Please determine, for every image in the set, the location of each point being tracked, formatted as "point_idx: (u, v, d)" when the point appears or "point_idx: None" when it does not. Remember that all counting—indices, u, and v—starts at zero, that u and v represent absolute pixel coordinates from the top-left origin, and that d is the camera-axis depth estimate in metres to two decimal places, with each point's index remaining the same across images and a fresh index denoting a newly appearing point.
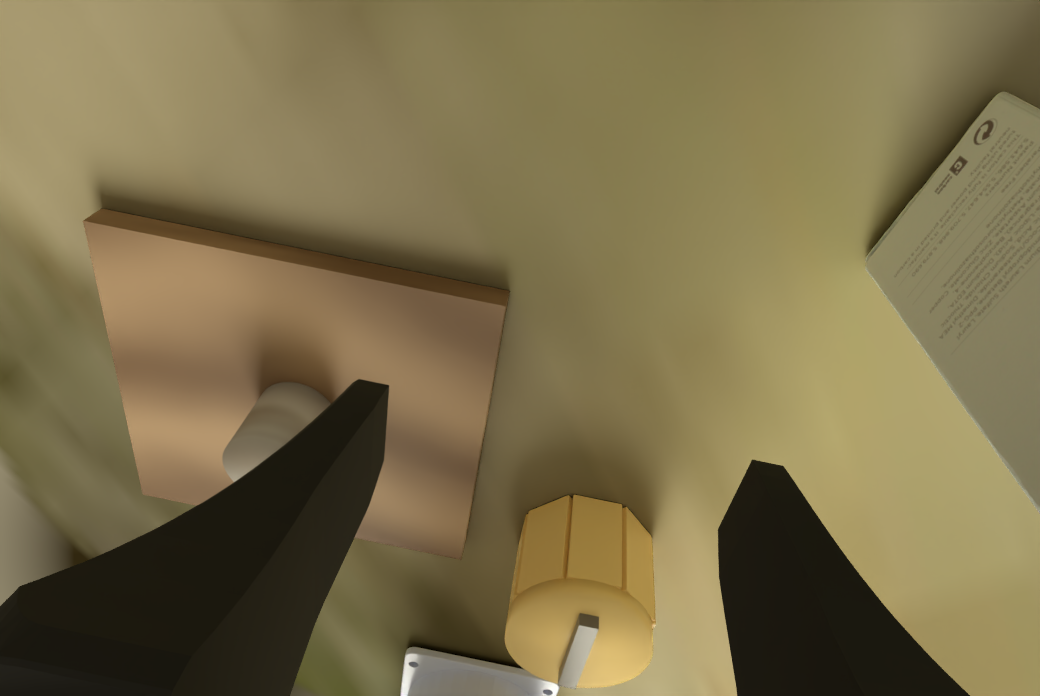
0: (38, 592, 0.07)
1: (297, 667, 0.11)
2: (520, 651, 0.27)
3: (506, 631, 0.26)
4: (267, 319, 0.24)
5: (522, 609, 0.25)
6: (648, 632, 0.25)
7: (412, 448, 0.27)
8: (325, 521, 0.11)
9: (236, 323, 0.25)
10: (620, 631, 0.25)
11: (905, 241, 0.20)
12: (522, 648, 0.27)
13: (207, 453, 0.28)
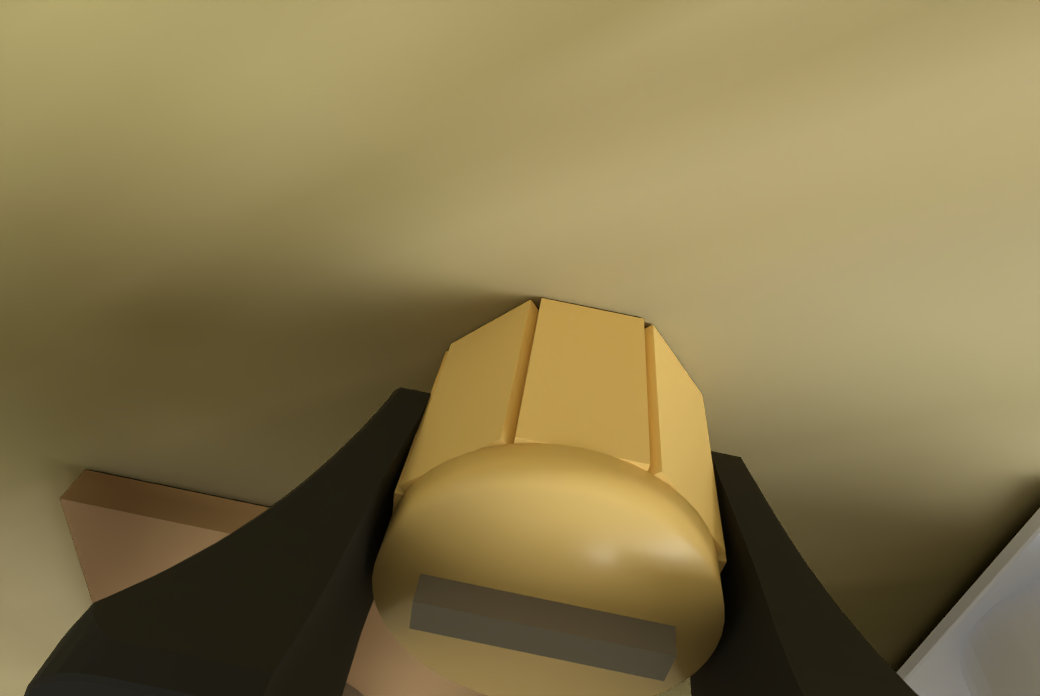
0: (113, 607, 0.07)
1: (346, 677, 0.11)
2: (583, 693, 0.12)
3: None
4: None
5: (440, 671, 0.12)
6: (463, 490, 0.10)
7: None
8: (375, 531, 0.11)
9: None
10: (464, 543, 0.10)
11: None
12: (571, 690, 0.12)
13: None
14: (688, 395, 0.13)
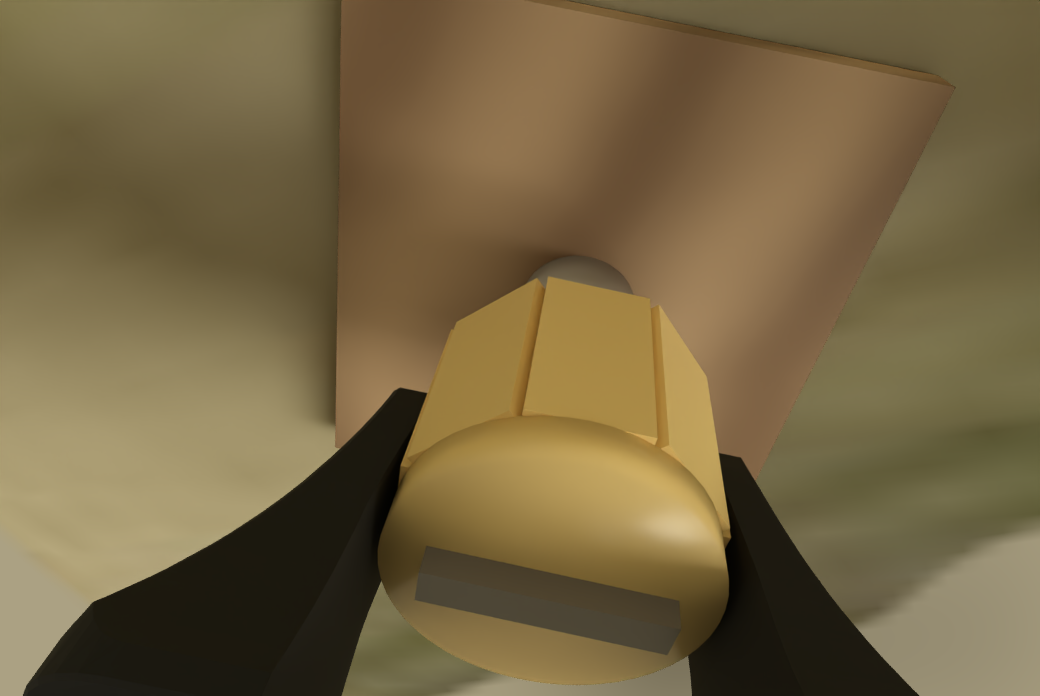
0: (112, 607, 0.07)
1: (345, 677, 0.11)
2: (585, 669, 0.12)
3: (518, 677, 0.13)
4: (424, 307, 0.19)
5: (443, 646, 0.13)
6: (471, 461, 0.10)
7: (642, 149, 0.16)
8: (374, 531, 0.11)
9: (436, 343, 0.20)
10: (471, 515, 0.10)
11: None
12: (574, 664, 0.12)
13: None
14: (693, 375, 0.13)
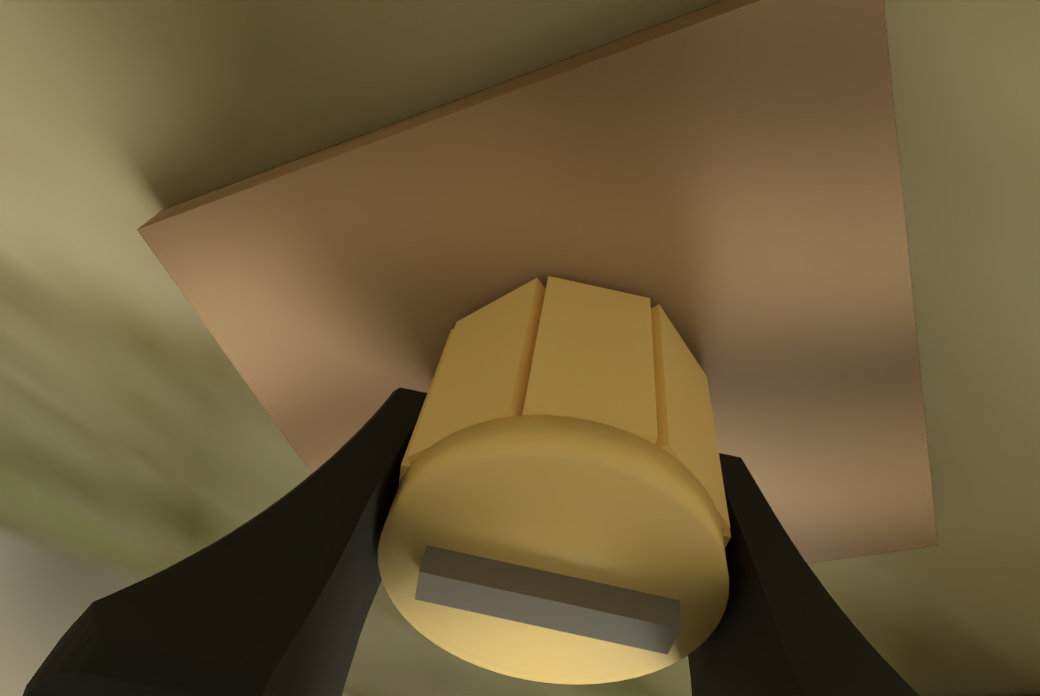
0: (113, 607, 0.07)
1: (345, 677, 0.11)
2: (586, 668, 0.12)
3: (518, 676, 0.13)
4: (451, 252, 0.14)
5: (443, 645, 0.13)
6: (472, 460, 0.10)
7: (780, 374, 0.14)
8: (374, 531, 0.11)
9: (409, 285, 0.14)
10: (471, 515, 0.10)
11: None
12: (574, 664, 0.12)
13: None
14: (693, 375, 0.13)
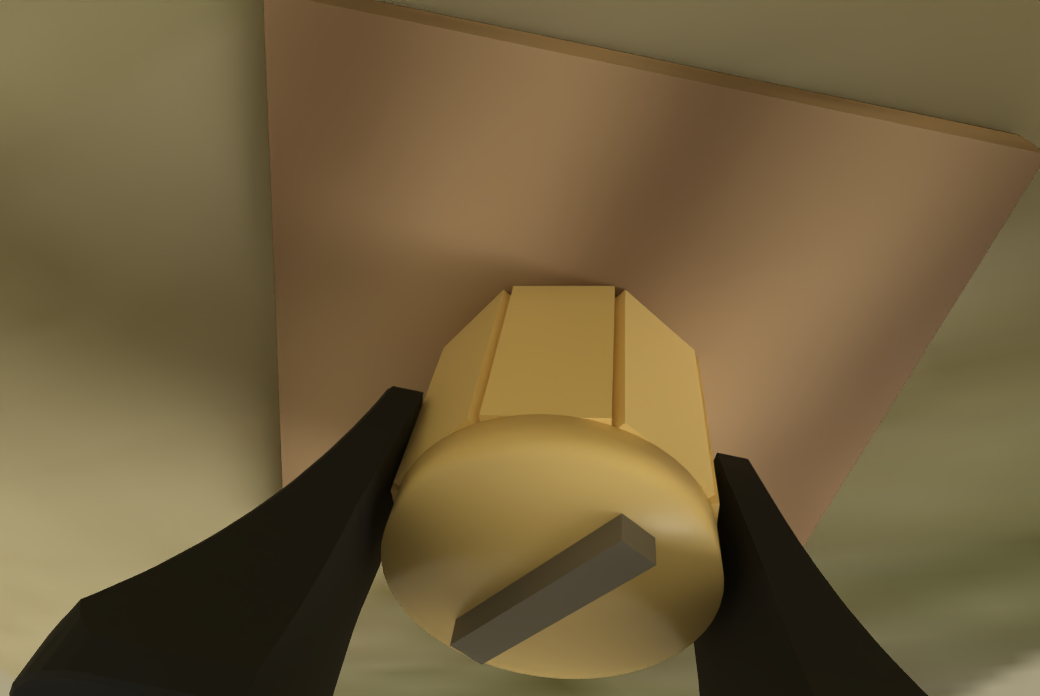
0: (100, 604, 0.07)
1: (337, 675, 0.11)
2: (683, 615, 0.11)
3: (663, 659, 0.12)
4: None
5: (589, 675, 0.13)
6: None
7: (646, 222, 0.13)
8: (366, 529, 0.11)
9: None
10: (435, 580, 0.12)
11: None
12: (671, 619, 0.12)
13: None
14: (575, 306, 0.13)
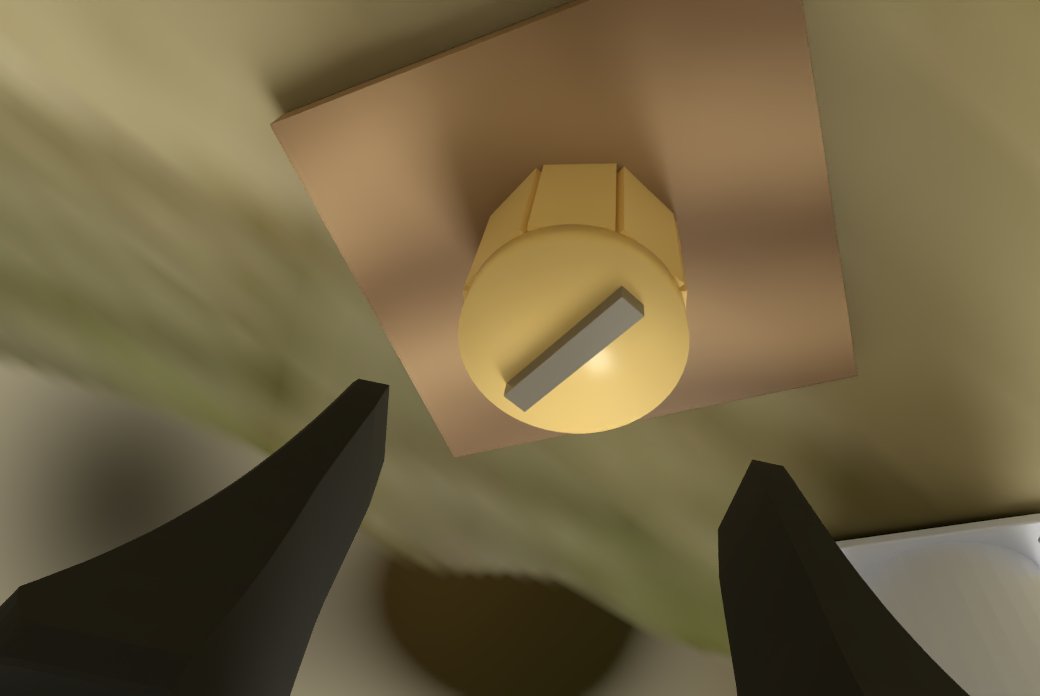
0: (38, 591, 0.07)
1: (297, 667, 0.11)
2: (662, 370, 0.17)
3: (649, 410, 0.18)
4: (499, 139, 0.19)
5: (598, 430, 0.18)
6: (459, 325, 0.17)
7: (736, 233, 0.20)
8: (325, 521, 0.11)
9: (467, 166, 0.20)
10: (493, 349, 0.17)
11: None
12: (654, 374, 0.17)
13: None
14: (588, 174, 0.19)
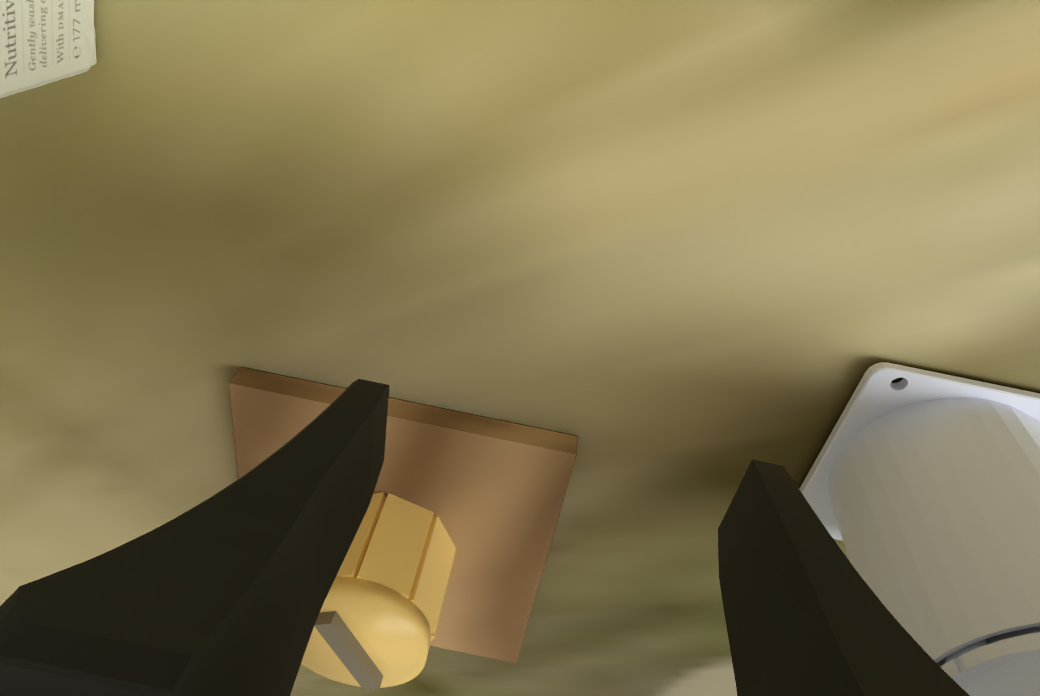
0: (38, 591, 0.07)
1: (297, 667, 0.11)
2: (388, 622, 0.25)
3: (418, 639, 0.25)
4: None
5: (425, 661, 0.26)
6: (319, 672, 0.27)
7: (412, 471, 0.27)
8: (325, 521, 0.11)
9: None
10: (339, 670, 0.27)
11: None
12: (390, 626, 0.25)
13: (455, 610, 0.32)
14: None
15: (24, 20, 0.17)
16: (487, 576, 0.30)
